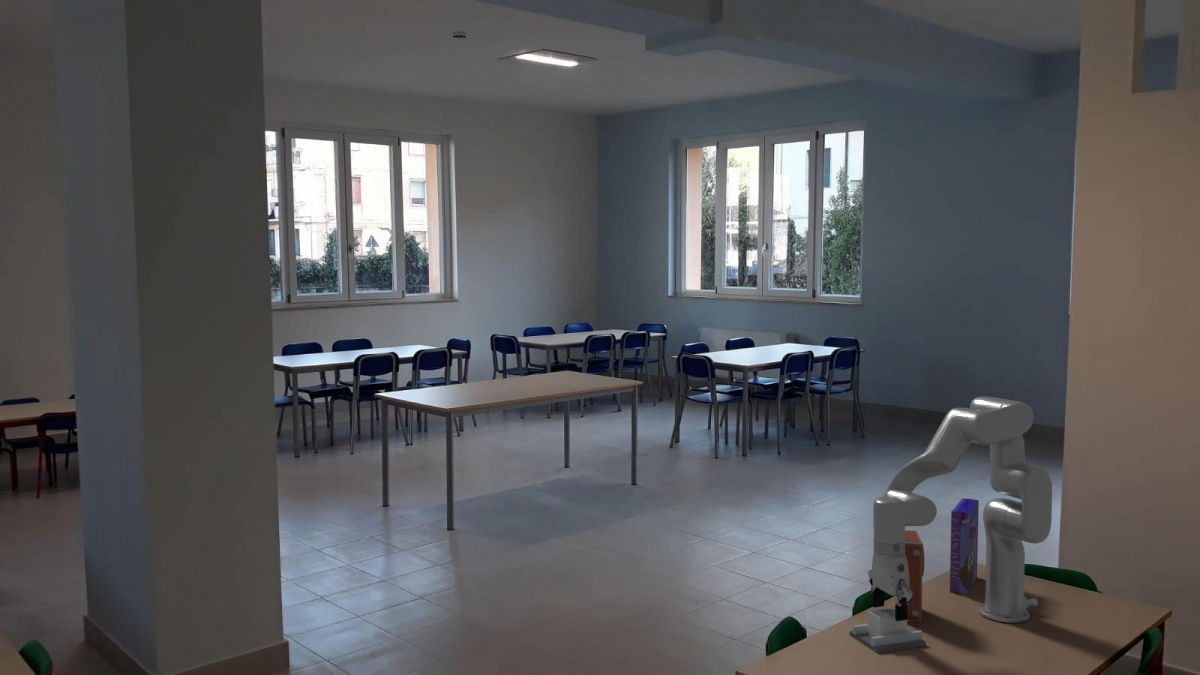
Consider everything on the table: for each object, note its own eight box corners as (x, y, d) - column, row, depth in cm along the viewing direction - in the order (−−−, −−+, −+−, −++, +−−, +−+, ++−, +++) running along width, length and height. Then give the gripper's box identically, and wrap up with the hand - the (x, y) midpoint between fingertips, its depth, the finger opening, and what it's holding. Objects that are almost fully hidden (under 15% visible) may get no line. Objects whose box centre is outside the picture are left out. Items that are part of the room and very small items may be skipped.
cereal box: (967, 594, 268) (969, 512, 266) (949, 592, 271) (951, 510, 269) (977, 577, 283) (978, 499, 281) (960, 575, 285) (962, 497, 284)
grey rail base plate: (896, 628, 244) (896, 617, 243) (925, 645, 232) (925, 633, 232) (849, 634, 239) (849, 623, 239) (877, 652, 228) (877, 641, 228)
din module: (895, 630, 239) (895, 607, 239) (906, 637, 235) (907, 614, 234) (867, 634, 237) (868, 611, 237) (879, 641, 232) (879, 618, 232)
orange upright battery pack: (917, 604, 261) (924, 624, 246) (891, 603, 262) (897, 623, 247) (918, 529, 259) (926, 545, 244) (892, 528, 260) (898, 543, 246)
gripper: (923, 555, 227) (923, 623, 228) (881, 535, 244) (882, 599, 245) (897, 559, 225) (897, 628, 226) (856, 539, 241) (857, 603, 243)
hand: (889, 613), depth 236 cm, fingers open, 9 cm apart
